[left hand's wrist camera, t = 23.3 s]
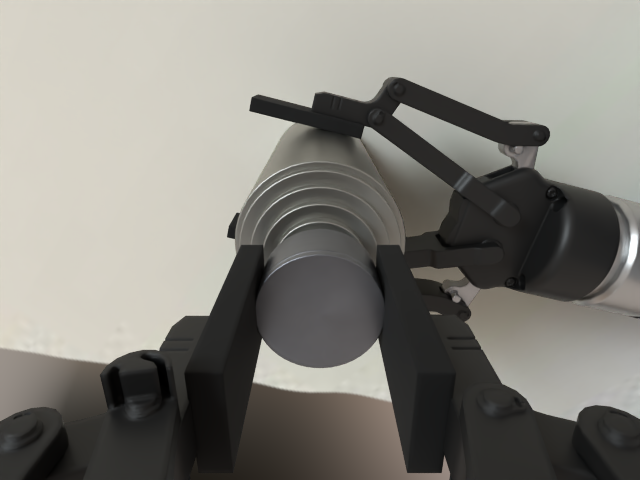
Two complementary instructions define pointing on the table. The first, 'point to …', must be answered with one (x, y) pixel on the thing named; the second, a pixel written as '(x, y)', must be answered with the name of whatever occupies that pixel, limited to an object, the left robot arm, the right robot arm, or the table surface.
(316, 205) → the bottle
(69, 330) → the table surface
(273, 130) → the table surface
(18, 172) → the table surface
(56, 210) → the table surface
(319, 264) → the cap
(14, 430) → the left robot arm
